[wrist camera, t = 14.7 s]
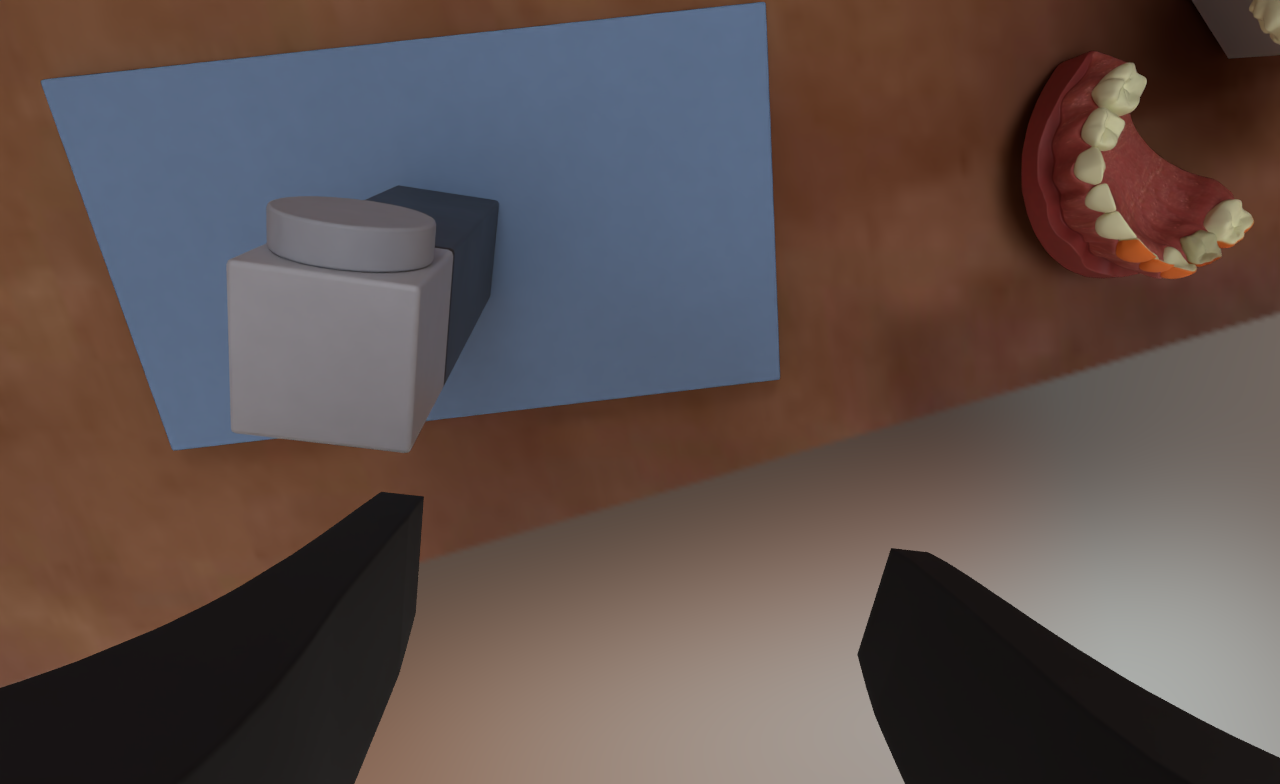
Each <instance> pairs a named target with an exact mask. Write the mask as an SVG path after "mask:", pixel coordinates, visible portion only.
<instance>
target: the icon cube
mask: <svg viewBox="0 0 1280 784" xmlns="http://www.w3.org/2000/svg"><path fill="white" fill-rule="evenodd" d="M1252 1H1253V0H1192V2H1193V3H1194V5H1195V6H1196V8H1197V9H1198V11H1199V13H1200V14H1201V16H1202V17H1203V19H1204V21H1205V22H1206V24H1207V25H1208V27H1209V29H1210V30H1211V32H1212V33H1213V35H1214V36H1215V38H1216V40H1217V41H1218V43H1219V44H1220V46H1221V48H1222V49H1223V51H1224V52H1225V54H1226V55H1227V57H1228V59H1229V58H1244V57H1259V56H1274V55H1280V45H1279V44H1277V43H1275V42H1274V41H1273V40H1272V39H1271V38H1270V33H1264V32H1263V31H1262V30H1261V28H1260V24H1259V21H1258V19H1256V18H1255V17H1254V16H1253V13H1252V12H1250V11H1249V7H1250V5H1251V3H1252Z"/></svg>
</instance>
